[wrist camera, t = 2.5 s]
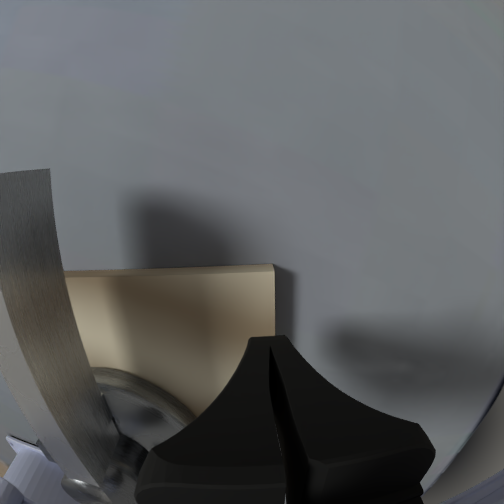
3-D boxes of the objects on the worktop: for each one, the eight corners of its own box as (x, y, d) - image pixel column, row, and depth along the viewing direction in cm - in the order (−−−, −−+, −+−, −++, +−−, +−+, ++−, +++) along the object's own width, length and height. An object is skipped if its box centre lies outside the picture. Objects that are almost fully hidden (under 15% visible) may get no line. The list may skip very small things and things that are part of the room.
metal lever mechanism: (215, 476, 16) (211, 545, 11) (88, 460, 16) (65, 515, 11) (167, 153, 11) (101, 144, 5) (-7, 186, 11) (-89, 205, 5)
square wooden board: (272, 469, 18) (274, 483, 17) (71, 450, 18) (66, 460, 16) (272, 263, 14) (275, 273, 12) (-6, 272, 13) (-19, 279, 12)
